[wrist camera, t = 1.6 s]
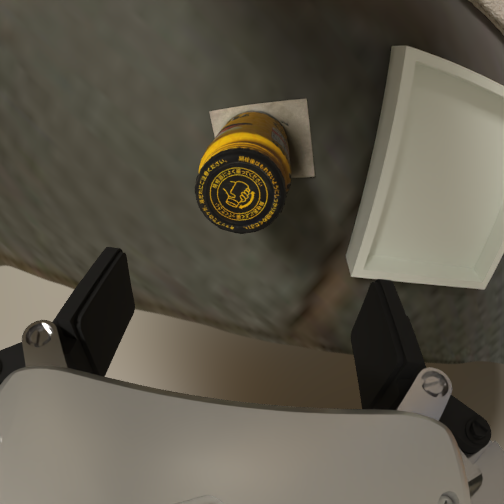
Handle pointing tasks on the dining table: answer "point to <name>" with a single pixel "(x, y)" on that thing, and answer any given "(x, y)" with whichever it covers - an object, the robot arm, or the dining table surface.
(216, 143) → the condiment
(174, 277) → the dining table surface
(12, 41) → the dining table surface
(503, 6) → the washcloth
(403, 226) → the tray
